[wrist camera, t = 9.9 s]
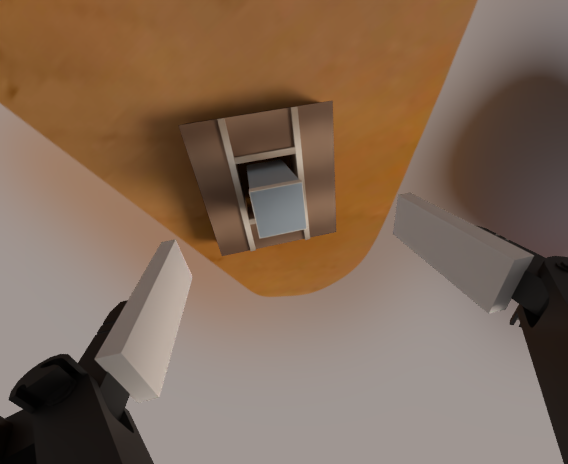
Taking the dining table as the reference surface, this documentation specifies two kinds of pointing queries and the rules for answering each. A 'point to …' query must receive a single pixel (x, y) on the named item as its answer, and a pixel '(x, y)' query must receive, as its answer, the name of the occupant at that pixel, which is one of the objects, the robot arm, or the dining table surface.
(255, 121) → the socket block
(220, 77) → the dining table surface
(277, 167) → the peg
